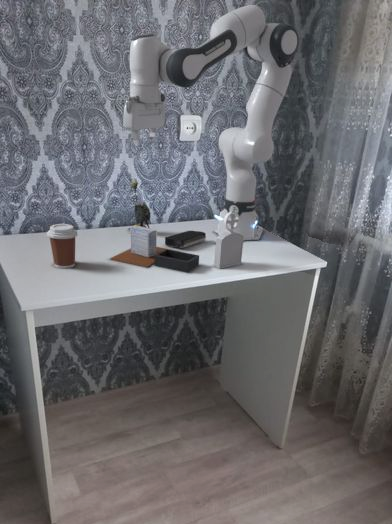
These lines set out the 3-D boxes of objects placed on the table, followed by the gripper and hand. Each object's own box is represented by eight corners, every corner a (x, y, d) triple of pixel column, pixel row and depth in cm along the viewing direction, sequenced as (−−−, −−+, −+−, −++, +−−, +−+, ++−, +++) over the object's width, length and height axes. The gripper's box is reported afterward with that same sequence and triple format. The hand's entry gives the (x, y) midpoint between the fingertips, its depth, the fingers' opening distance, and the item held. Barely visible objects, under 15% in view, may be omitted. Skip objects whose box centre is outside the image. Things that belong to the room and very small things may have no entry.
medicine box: (156, 255, 167) (157, 230, 163) (148, 258, 163) (148, 232, 159) (138, 250, 170) (138, 225, 166) (130, 253, 167) (130, 228, 163)
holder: (165, 258, 165) (166, 248, 164) (198, 265, 161) (199, 255, 160) (154, 265, 159) (154, 255, 157) (188, 272, 155) (188, 262, 153)
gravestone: (240, 264, 165) (246, 209, 156) (219, 268, 160) (223, 212, 151) (235, 261, 167) (240, 208, 158) (214, 266, 162) (218, 210, 153)
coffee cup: (47, 261, 157) (44, 223, 151) (76, 258, 160) (73, 222, 154) (52, 270, 150) (48, 231, 144) (82, 268, 153) (80, 229, 147)
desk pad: (140, 244, 178) (140, 243, 177) (175, 251, 173) (175, 250, 173) (110, 259, 161) (110, 258, 161) (147, 267, 157) (147, 266, 157)
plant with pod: (137, 237, 186) (137, 182, 176) (126, 229, 194) (125, 176, 185) (156, 235, 189) (157, 181, 179) (145, 227, 198) (145, 176, 188)
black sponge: (180, 251, 173) (181, 241, 172) (162, 246, 178) (162, 236, 176) (207, 242, 185) (208, 232, 183) (189, 237, 189) (190, 228, 188)
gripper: (135, 97, 142) (136, 148, 149) (168, 96, 159) (167, 142, 166) (117, 95, 145) (118, 146, 151) (151, 95, 161) (151, 140, 168)
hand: (144, 144), depth 159 cm, fingers open, 8 cm apart
